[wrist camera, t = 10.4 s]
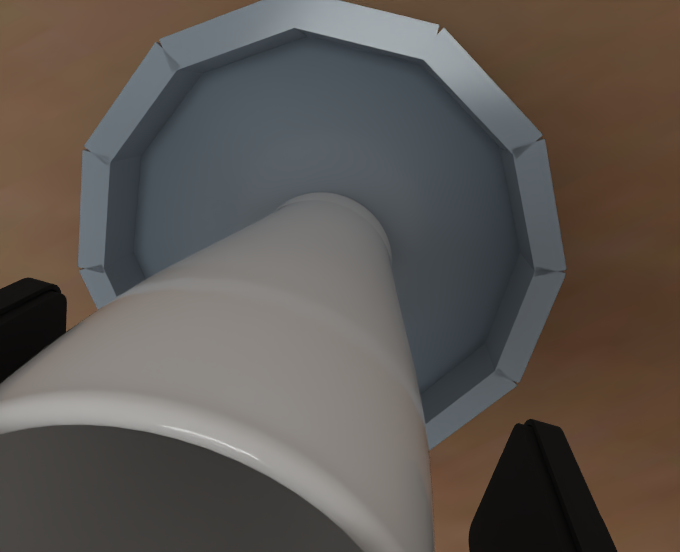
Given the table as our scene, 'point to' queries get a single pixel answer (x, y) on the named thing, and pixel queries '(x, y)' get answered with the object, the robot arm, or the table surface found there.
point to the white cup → (229, 404)
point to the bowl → (339, 175)
